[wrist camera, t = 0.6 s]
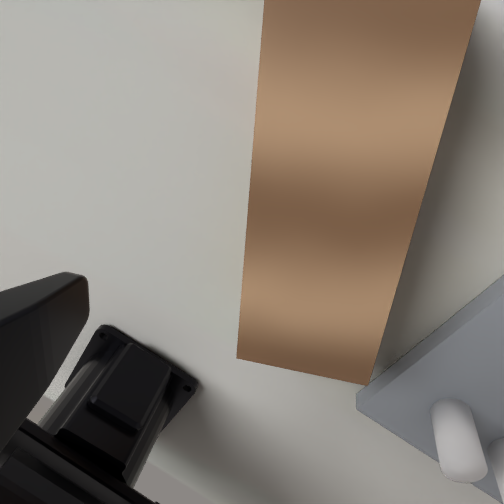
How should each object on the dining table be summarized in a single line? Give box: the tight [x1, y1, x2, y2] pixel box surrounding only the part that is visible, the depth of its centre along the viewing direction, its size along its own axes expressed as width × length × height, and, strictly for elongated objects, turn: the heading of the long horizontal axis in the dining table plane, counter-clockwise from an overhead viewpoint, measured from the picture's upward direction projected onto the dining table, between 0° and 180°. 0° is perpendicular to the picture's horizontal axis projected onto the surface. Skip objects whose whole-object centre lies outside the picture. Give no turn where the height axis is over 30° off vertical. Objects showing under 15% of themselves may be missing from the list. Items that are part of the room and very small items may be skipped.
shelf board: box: [236, 0, 481, 386], centre depth 16 cm, size 14×6×4 cm, turn 176°
